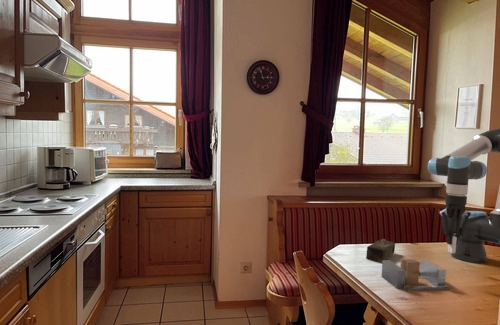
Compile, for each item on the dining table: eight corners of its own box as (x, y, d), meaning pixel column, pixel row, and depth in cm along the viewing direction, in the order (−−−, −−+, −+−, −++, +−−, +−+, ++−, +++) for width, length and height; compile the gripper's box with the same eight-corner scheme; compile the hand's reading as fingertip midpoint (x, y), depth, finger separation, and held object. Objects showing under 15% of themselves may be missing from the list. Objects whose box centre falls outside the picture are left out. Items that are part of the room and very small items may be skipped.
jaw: (426, 275, 158) (427, 259, 158) (444, 287, 147) (446, 269, 146) (419, 275, 158) (420, 259, 157) (437, 287, 146) (438, 270, 146)
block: (399, 279, 153) (401, 258, 152) (411, 279, 154) (412, 258, 153) (406, 284, 148) (407, 262, 147) (418, 284, 149) (419, 262, 148)
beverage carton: (395, 253, 187) (396, 240, 187) (382, 263, 172) (383, 249, 172) (379, 250, 192) (380, 237, 192) (365, 259, 177) (366, 246, 177)
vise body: (424, 273, 161) (425, 257, 160) (449, 289, 145) (450, 271, 144) (379, 274, 158) (380, 258, 157) (399, 291, 142) (401, 273, 141)
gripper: (464, 193, 155) (459, 249, 157) (435, 192, 153) (430, 249, 155) (477, 196, 148) (472, 255, 150) (447, 195, 146) (442, 255, 148)
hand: (451, 252), depth 152 cm, fingers closed
